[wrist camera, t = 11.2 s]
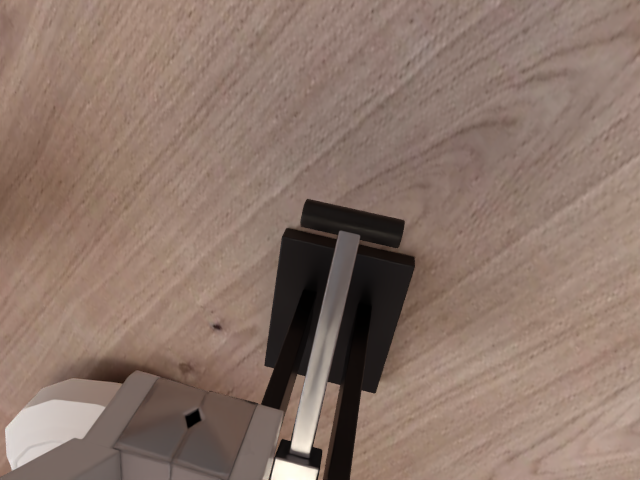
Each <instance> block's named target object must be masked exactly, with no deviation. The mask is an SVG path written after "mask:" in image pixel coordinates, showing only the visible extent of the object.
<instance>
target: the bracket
mask: <svg viewBox="0 0 640 480" xmlns="http://www.w3.org/2000/svg"><path fill="white" fill-rule="evenodd" d="M336 242H337V239H332V238H328V237H324V236H319V235H315V234H310V233H306V232H302V231H297V230H293V229H288V228H286V230H285V232H284V234H283V236H282V241H281V248H280V256H279V263H278V270H277V277H276V285H275V292H274V299H273V307H272V314H271V321H270V328H269V336H268V343H267V350H266V358H265V366H267V367H271V368H274V370H273V373H272V376H271V378H270V381H269V384H268V387H267V389H266V392H265V395H264V398H263V400H262V403H261V405H263V406H267V407H271V408H274V409H278V410H282V411H284V413H283V418H282V423H283V420H284V416H285V413H286V410H287V406H288V403H289V400H290V396H291V393H292V390H293V386H294V383H295V380H296V376H297V374H299V375H303V376H306V372H307V368H308V364H309V359H310V355H311V350H312V346H313V342H314V337H315V333H316V329H317V324H318V320H319V316H320V311H321V307H322V303H323V298H324V294H325V290H326V285H327V281H328V276H329V272H330V268H331V263H332V259H333V255H334V250H335V246H336ZM414 268H415V258H414V257H411V256H407V255H403V254H398V253H394V252H390V251H385V250H381V249H376V248H372V247H368V246H363V245H359V246H358V250H357V255H356V259H355V263H354V268H353V272H352V277H351V281H350V285H349V290H348V294H347V299H346V303H345V307H344V312H343V316H342V320H341V325H340V329H339V334H338V338H337V342H336V347H335V351H334V356H333V360H332V364H331V369H330V373H329V378H328V382H331V383H335V384H339V385H340V389H339V394H338V400H337V405H336V411H335V416H334V421H333V427H332V432H331V438H330V443H329V448H328V454H327V459H326V465H325V470H324V475H323V480H350V474H351V466H352V458H353V451H354V443H355V435H356V428H357V420H358V412H359V405H360V397H361V390H363V391H367V392H371V393H376V390H377V387H378V384H379V381H380V377H381V374H382V371H383V368H384V364H385V361H386V358H387V355H388V351H389V348H390V345H391V342H392V339H393V335H394V332H395V329H396V326H397V322H398V319H399V316H400V313H401V310H402V306H403V303H404V300H405V297H406V293H407V290H408V287H409V284H410V280H411V277H412V274H413V271H414ZM282 423H281V426H282ZM280 430H281V428H280ZM279 433H280V432H279Z"/></svg>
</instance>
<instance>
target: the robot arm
mask: <svg viewBox="0 0 640 480" xmlns="http://www.w3.org/2000/svg"><path fill="white" fill-rule="evenodd" d="M283 413H284V411H282V410H278V409H274V408H271V407H267V406H263V405H260V404H258V403H255V402H251V401H247V400H243V399H239V398H235V397H232V396H228V395H224V394H220V393H216V392H212V391H209V392H208V391H205V390H202V389H199V388H195V387H192V386H189V385H185V384H182V383H179V382H176V381H172V380H169V379H166V378H163V377H159V376H156V375H152V374H149V373H145V372H142V371H138V370H136V371H134V372H133V373H132V374H131V375H129V376H128V377H127V379H126V380H125V382H124V383H123V384H122V386H121V387H120V388H119V390H118V391H117V393H116V394H115V395H114V397H113V398H112V399H111V401H110V402H109V403H108V405H107V406H106V408H105V409H104V410H103V412H102V413H101V414H100V416H99V417H98V419H97V420H96V421H95V423H94V424H93V425H92V427H91V428H90V429H89V431H88V432H87V434H86V435H85V436H84V438H83V439H78V438H73V439H71V440H69V441H67V442H65V443H63V444H61V445H60V446H58V447H56V448H54V449H52V450H50V451H48V452H46V453H45V454H43V455H41V456H39V457H37V458H35V459H33V460H31V461H30V462H28V463H26V464H24V465H22V466H20V467H18V468H16V469H14V470H13V471H11V472H9V473H7V474H5V475H3V476H1V477H0V480H268V478H269V475H270V471H271V467H272V463H273V458H274V454H275V450H276V446H277V441H278V437H279V432H280V428H281V423H282V418H283Z"/></svg>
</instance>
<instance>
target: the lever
mask: <svg viewBox="0 0 640 480" xmlns="http://www.w3.org/2000/svg"><path fill="white" fill-rule="evenodd" d="M404 224H405V221H404V220H401V219H396V218H392V217H387V216H383V215H378V214H374V213H369V212H365V211H360V210H356V209H351V208H347V207H342V206H338V205H333V204H329V203H324V202H320V201H315V200H311V199H307V200H306V202H305V204H304V208H303V212H302V216H301V227H305V228H310V229H314V230H318V231H323V232H327V233H332V234H336V235H338V237H337V242H336V246H335V250H334V255H333V259H332V263H331V268H330V272H329V276H328V281H327V285H326V290H325V294H324V298H323V303H322V307H321V311H320V316H319V320H318V324H317V329H316V333H315V337H314V342H313V346H312V350H311V355H310V359H309V364H308V368H307V372H306V377H305V381H304V385H303V390H302V394H301V398H300V403H299V407H298V411H297V416H296V420H295V424H294V429H293V433H292V437H291V441H288V440H284V439H282V440H281V442H280V445H279V447H278V450H277V452H276V455H275V457H274V461H273V465H272V470H271V474H270V478H269V480H318V475H319V471H320V464H321V458H322V449H318V448H314V447H313V443H314V439H315V435H316V430H317V426H318V421H319V417H320V413H321V408H322V404H323V399H324V395H325V391H326V386H327V382H328V378H329V373H330V369H331V364H332V360H333V356H334V351H335V347H336V342H337V338H338V334H339V329H340V325H341V320H342V316H343V312H344V307H345V303H346V299H347V294H348V290H349V285H350V281H351V277H352V272H353V268H354V263H355V259H356V255H357V250H358V246H359V241H360V240H362V241H367V242H371V243H376V244H380V245H385V246H389V247H393V248H399V245H400V242H401V239H402V235H403V230H404Z"/></svg>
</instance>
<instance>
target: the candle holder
mask: <svg viewBox="0 0 640 480" xmlns="http://www.w3.org/2000/svg"><path fill="white" fill-rule="evenodd" d="M121 386H122V383H115V382H105V381H96V380H87V379H77V378H71V379H68V380H65V381H62V382H59V383H56V384H53V385H50V386H47V387H44V388H42V389H41V390H40V391H39V392H38V393H37V394H36V395H35V396H34V397H33V398H32V399H31V400H30V402H29V403H28V404H27V405H26V406H25V407H24V408H23V409H22V410H21V411H20V413H19V414H18V415H17V416H16V417H15V418H14V419H13V420H12V421H11V423H10V424H9V425H8V426H7V427H6V428H5V434H6V454H7V457H8V460H9V463H10V466H11V468H12V471H13V470H14V469H16V468H18V467H20V466H22V465H24V464H26V463H28V462H30V461H31V460H33V459H35V458H37V457H39V456H41V455H43V454H45V453H46V452H48V451H50V450H52V449H54V448H56V447H58V446H60V445H61V444H63V443H65V442H67V441H69V440H71V439H73V438H78V439H83V438H84V436H85V435H86V434H87V432H88V431H89V429H90V428H91V427H92V425H93V424H94V423H95V421H96V420H97V419H98V417H99V416H100V414H101V413H102V412H103V410H104V409H105V408H106V406H107V405H108V403H109V402H110V401H111V399H112V398H113V397H114V395H115V394H116V393H117V391H118V390H119V388H120V387H121Z"/></svg>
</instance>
